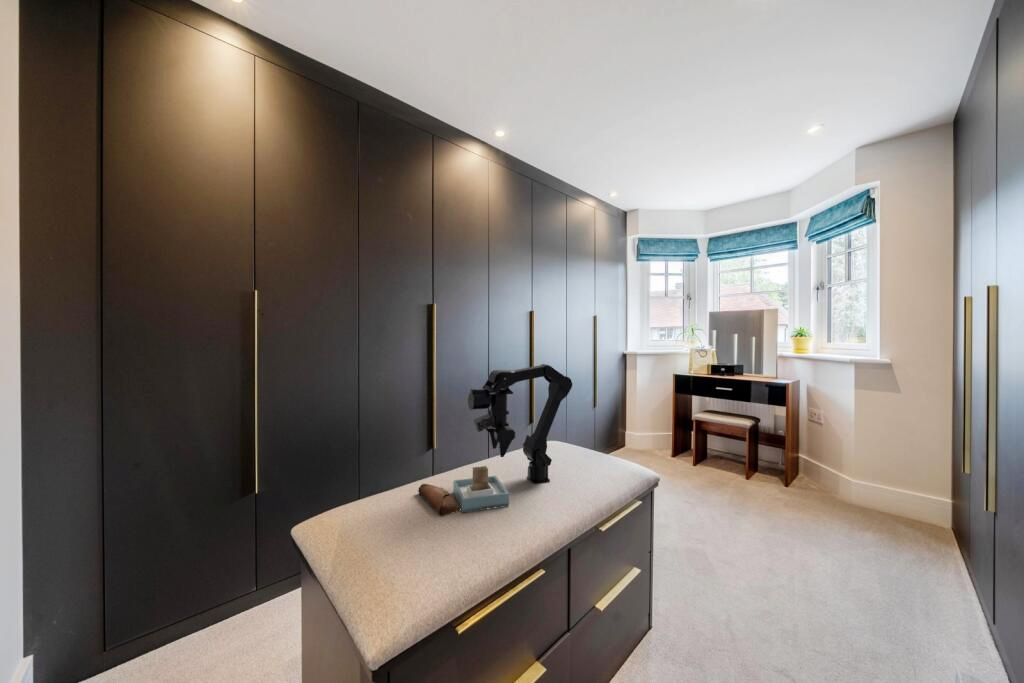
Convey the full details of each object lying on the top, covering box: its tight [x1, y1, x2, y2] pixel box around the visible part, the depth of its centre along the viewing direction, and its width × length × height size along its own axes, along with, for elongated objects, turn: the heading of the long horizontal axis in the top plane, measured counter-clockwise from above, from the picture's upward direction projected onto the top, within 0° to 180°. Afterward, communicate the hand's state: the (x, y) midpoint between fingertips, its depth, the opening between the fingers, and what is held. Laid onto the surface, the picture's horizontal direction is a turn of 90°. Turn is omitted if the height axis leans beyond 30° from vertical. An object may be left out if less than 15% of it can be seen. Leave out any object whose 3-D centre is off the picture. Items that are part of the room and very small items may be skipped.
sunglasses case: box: [417, 483, 461, 517], centre depth 119 cm, size 18×7×7 cm
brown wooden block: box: [472, 465, 489, 491], centre depth 121 cm, size 4×2×8 cm, turn 109°
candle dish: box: [452, 475, 510, 514], centre depth 121 cm, size 15×15×4 cm
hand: (498, 452), depth 130 cm, fingers open, 9 cm apart
